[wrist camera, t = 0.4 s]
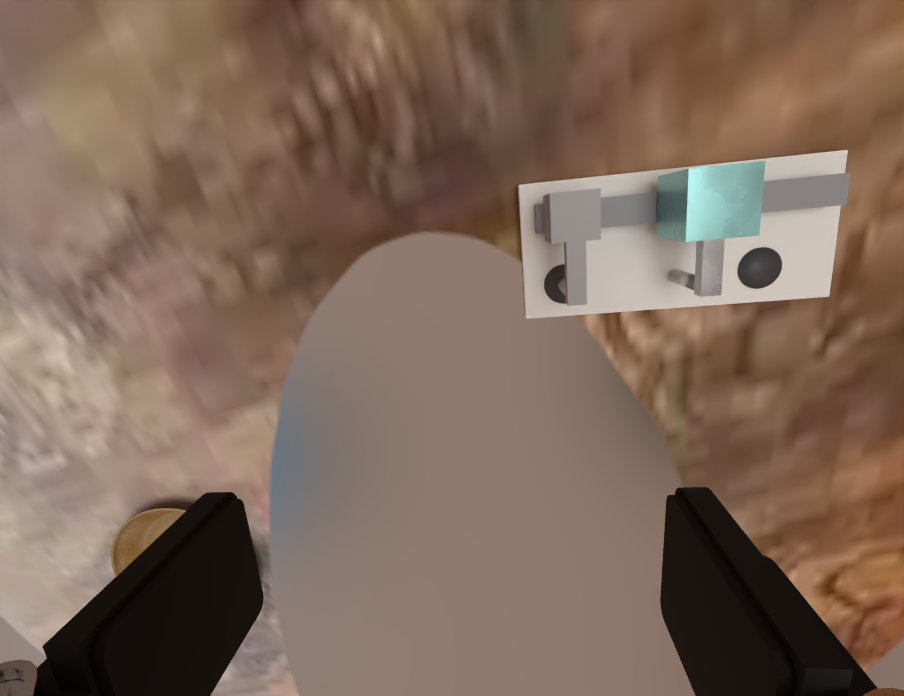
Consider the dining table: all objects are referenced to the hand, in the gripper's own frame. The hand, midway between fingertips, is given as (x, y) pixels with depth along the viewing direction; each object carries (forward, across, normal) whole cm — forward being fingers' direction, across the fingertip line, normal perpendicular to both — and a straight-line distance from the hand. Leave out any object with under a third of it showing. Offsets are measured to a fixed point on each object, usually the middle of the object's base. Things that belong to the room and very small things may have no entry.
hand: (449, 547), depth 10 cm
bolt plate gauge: (+29, -14, -4) cm, 32 cm away
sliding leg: (+27, -14, -5) cm, 31 cm away
